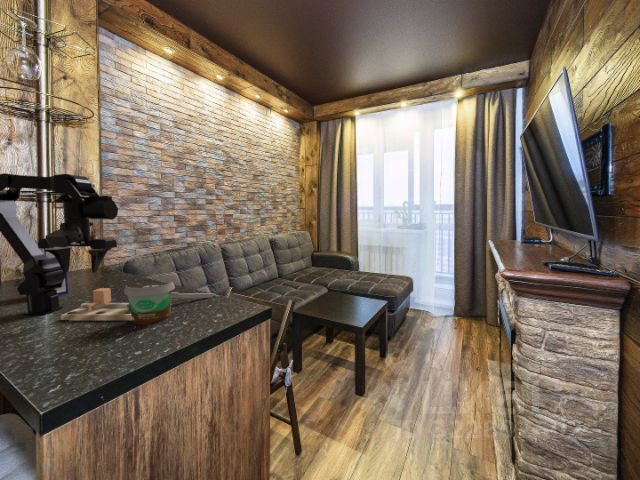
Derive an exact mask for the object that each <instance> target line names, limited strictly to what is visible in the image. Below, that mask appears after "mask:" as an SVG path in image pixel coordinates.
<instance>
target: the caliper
mask: <svg viewBox="0 0 640 480" xmlns="http://www.w3.org/2000/svg"><path fill="white" fill-rule="evenodd" d="M214 295H215V296H214ZM213 296H214V297H218V295H217V294H215V293H213V292H205V293H204V292H202V293H201V292H200V293H199V292H198V293H197V292H196V293H193V292H192V293H191V292H190V293H180V292H178V291H177V292H175V291H174V292H173V291H172V299H171V302H178V301H179V300H180V299H211V298H214V297H213ZM210 297H211V298H210Z"/></svg>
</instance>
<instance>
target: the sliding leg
mask: <svg viewBox="0 0 640 480" xmlns="http://www.w3.org/2000/svg"><path fill="white" fill-rule="evenodd" d="M111 292H112V291H111V288H109V287H105V288H104V287H99V288H97V289H95V290H92V295H93V296H92V297H93V302H89V303H90V304H88V305H87V307H88V309H89V311H91V306H94V305H96V304H106V303H112V293H111Z"/></svg>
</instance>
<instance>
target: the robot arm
mask: <svg viewBox="0 0 640 480" xmlns="http://www.w3.org/2000/svg"><path fill="white" fill-rule="evenodd" d="M6 189H7V190H6ZM22 189H30V190H31V189H33V190H34V189H35V190H48V191H51V192H54V193H56V194H61V195H60V196H59V197H58V198H56V199H55V200H54V203H56V204H62V207H63V222H60V224H59V229H57V230H54V231H52V232H50V233H48V234H46V235H45V236H44V237H43V238H40V239H39V240H37V241H38V246H37V244H36V243H35V241H36V240H34V239H33V237H32V236H31V235H30V233H29V232H28V230H27V229H26V227H25V226H24V225H23V223H22V222H21V220H20V219H19V218H18V217H17V215H16V214H17V204H16V202H17V201H18V200H19V199H20V195H21V191H22ZM4 190H6V191H4ZM118 214H119V208H118V205H117V203H116V201H114V200H113V196H112V195H100V194H99V192H98V191H97V190H96V189H95V187H94V186H93V185H92V182H91V180H90V179H89V177H87V176H83V175H76V174H69V173H60V174H54V175H52V176H51V175H50V176H39V175H37V176H36V175H24V174H23V175H22V174H15V173H4V172H3V173H0V233H1V235H2V236H3V237H4V239H6V241H7V243H8V244H9V246H10V247H11V248H12V249H13V251H14V252H15V253H16V255H17V256H18V258H19V259H20V260H21V262H22V263H23V268H22V269H23V270H22V275H23V276H24V280H23V281H22V282H21V283H20V284H19V285H18V287H17V288H16V289H17V291H18V294H19V296H26V304H27V307H26V308H27V311H24V312H22V316H23V315H24V316H27V315H28V316H29V315H31V316H32V315H36V316H37V315H47V314H50V313H53V312H55V311H58V310H60V309H63V305H60V299H59V297H60V296H58V295H57V290H55V289H57V288H61V287H62V284H63V281H64V279H65V275H66V272H67V273H68V272H69V269H70V265H71V264H70V261H71V250H72V249H71V247H90V249H89V250H87V252H88V254H89V255H90V261H91V263H90V264H91V272H92V273H93V274H95V273H97V272H98V269H99V267H100V265H101V264H102V261H103V259H104V258H105V256H106V255H107V253H108V251H111V250H112V248H118V241H117V240H116V238H114V237H100V238H99V237H98V238H95V236H93V235H91V227H93V226H94V222H91V221H90V220H107V221H110V220H114V219H116V218H117V217H118ZM40 249H47V250H45V251H46V252H50V253H51V254H53V255H54V256H55V257H52V258H49V257H47V256H45V255H44V254H43V253H42V251H41V250H40Z"/></svg>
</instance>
